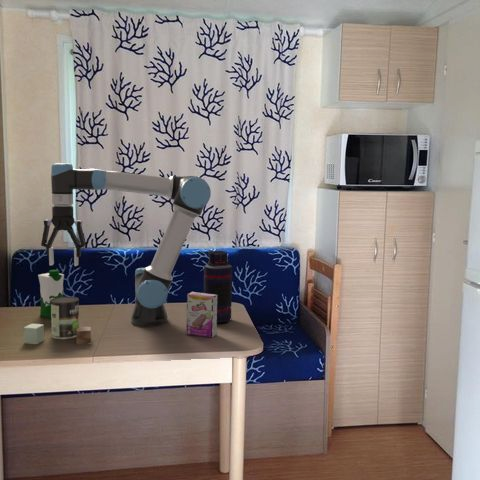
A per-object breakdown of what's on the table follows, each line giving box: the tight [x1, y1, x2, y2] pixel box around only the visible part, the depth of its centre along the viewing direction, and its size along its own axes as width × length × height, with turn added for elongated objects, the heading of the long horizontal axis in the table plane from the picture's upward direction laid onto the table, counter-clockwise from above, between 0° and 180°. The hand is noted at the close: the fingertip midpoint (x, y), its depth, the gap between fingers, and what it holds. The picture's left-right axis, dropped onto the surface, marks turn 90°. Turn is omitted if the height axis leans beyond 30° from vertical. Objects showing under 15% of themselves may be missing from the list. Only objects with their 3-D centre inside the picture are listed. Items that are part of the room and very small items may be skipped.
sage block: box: [23, 323, 45, 345], centre depth 201 cm, size 5×5×6 cm
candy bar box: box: [185, 291, 218, 339], centre depth 212 cm, size 11×5×16 cm, turn 71°
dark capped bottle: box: [203, 250, 233, 324], centre depth 231 cm, size 14×12×30 cm
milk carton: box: [37, 269, 65, 319], centre depth 233 cm, size 9×9×20 cm
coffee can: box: [50, 296, 80, 340], centre depth 208 cm, size 10×10×14 cm
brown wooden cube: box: [76, 326, 92, 345], centre depth 202 cm, size 5×5×5 cm
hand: (64, 265), depth 205 cm, fingers open, 9 cm apart
